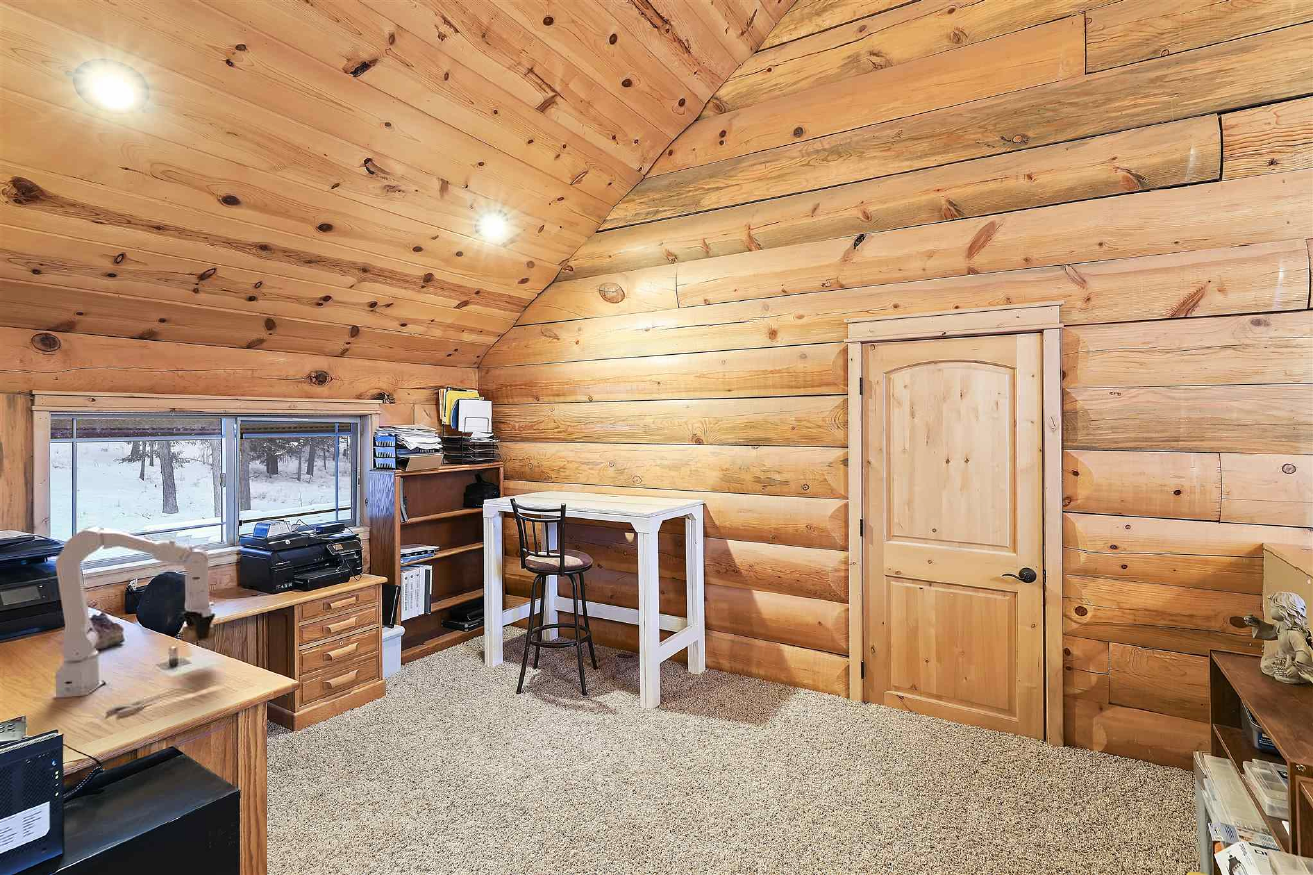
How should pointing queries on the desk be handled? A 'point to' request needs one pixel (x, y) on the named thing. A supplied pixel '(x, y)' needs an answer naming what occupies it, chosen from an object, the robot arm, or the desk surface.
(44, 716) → the desk surface
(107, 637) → the geode
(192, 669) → the board
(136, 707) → the adjustable wrench
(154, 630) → the desk surface
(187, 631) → the collar
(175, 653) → the post
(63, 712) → the desk surface
